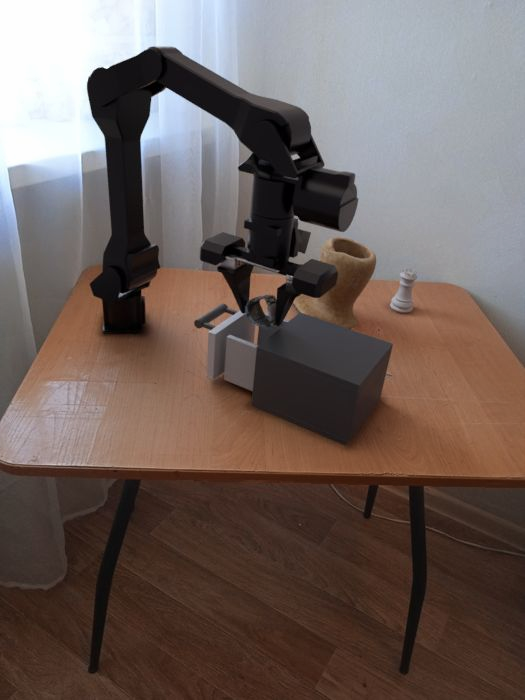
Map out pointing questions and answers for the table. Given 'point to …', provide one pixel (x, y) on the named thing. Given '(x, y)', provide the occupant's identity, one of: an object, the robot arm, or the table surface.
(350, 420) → the cabinet
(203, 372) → the table surface
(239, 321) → the drawer
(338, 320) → the stone cup
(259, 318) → the wristwatch
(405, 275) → the rook chess piece
